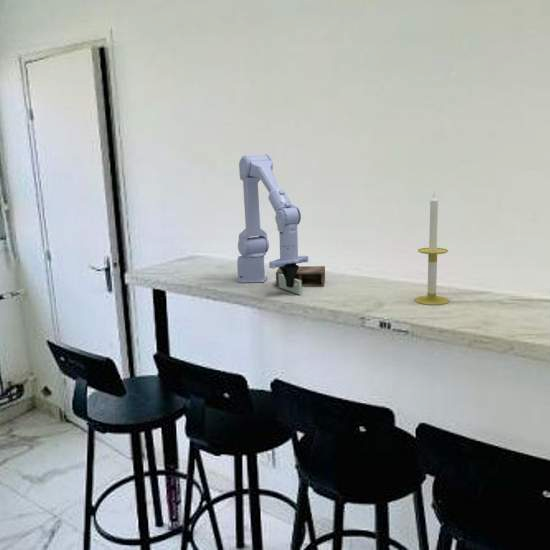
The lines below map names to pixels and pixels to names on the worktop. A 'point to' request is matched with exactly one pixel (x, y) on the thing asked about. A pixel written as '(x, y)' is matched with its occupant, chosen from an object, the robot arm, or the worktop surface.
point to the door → (296, 284)
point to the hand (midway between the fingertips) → (289, 287)
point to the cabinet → (308, 276)
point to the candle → (432, 259)
